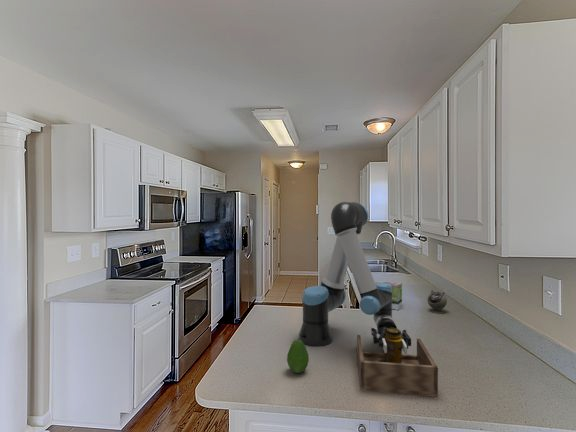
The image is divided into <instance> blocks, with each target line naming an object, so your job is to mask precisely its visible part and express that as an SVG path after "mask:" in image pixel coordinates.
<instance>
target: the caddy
mask: <svg viewBox="0 0 576 432" xmlns="http://www.w3.org/2000/svg"><path fill="white" fill-rule="evenodd" d="M356 342H357V344H356V349H357V350H356V356H357V357H356V359H357V368H358V369H357V370H358V376H359V377H358V378H359V385H360V386H359V387H360V391H369V392H383V393H393V394H394V393H395V394H404V395H405V394H406V395H417V396H430V397H438V393H439V392H438V390H439V385H438V383H439V372H438V371H439V367H438V366H437V364H436V363H435V361H434V359H433V358H432V356H431V354H430V353H429V351H428V350H427V347H426V346H425V344H424V343H423V341H422V339H421V338H416V354H404V353H402V362H404V363H406V364H402V363H388V362H375V361H378V360H381V359H384V352H374V351H372V352H370V351H363V345H362V343H363V342H362V337H361V335H360V334H357V335H356Z"/></svg>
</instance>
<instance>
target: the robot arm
mask: <svg viewBox="0 0 576 432" xmlns="http://www.w3.org/2000/svg"><path fill="white" fill-rule="evenodd" d="M330 220H331V225H332V228H333V232H334V235H335V237H336V240H335V242H334V247H333V250H332V255H331V258H330V261H329V264H328V269H327V272H326V277H324V278H322V279H321V283H320V285H313V286H309V287H306V288H305V289H304V290H303V291H302V325H301V328H300V331H299V333H298V339H299V340H301V341H302V342H303V343H304V345H305V346H313V347H322V346H326V345H329V344H331V343H332V342H333V335H332V334H333V333H332V331H331V327H330V323H329V313H330V312H331V311H333V310H336V309H338V308H339V307H341V306H342V305H343V304H344V302H345V300H346V291H345V289H346V284H345V283H344V281H345V277H346V274H347V269H348V266H349V268H350V271H351V273H352V276H353V279H354V282H355V284H356V288H357V291H358V292H359V296H360V301H359V308H360V310H361V311H362V313H364V314H366V315H369V316H372V315H373V320H374V322H375V326H376V328H377V329H376V328H374V327H371V329H370V331H371V332H370V334H371V336H372V341H373V344H374V345H377V344H378V347H380V348H382V349H383V353H387V344H386V342H385V336H386V329H387V328H396V329H398V326H397V325H396V323H395V320H394V319H393V309H392V286H391V285H390V284H387V283H377V284H375V282H376V281H375V279H374V277H373V273H372V271H371V270H370V267H369V264H368V260H367V259H366V255H365V253H364V251H363V248H362V247H363V246H362V244H361V242H360V239H359V237H358V236H359V235H361V232H362V229H363V227H364V226H365V224H367V222H368V220H369V212H368V209H367V207H365V205H363V204H362V203H359V202H355V201H352V202H351V201H341V202H338V203H337V204H335V206H334V207H333V208H332V209H331V213H330ZM400 331H401V338H402V351H403V354H405V355H408V349H409V347H411V346H412V338H411V337H410V335H409V334H408V332H407V329H402V330H400ZM377 334H378V335H379V336H378V335H377Z"/></svg>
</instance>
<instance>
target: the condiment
mask: <svg viewBox="0 0 576 432" xmlns="http://www.w3.org/2000/svg"><path fill="white" fill-rule="evenodd" d="M401 331H402V330H400V329H399V328H397V329H396V328H387V329H386V336H385V342H386V344H387V353H384V352H383V353H384V359H381V360H378V361H375V362H388V363H402V364H406V363H404V362H402V354H403V352H402V351H403V349H402V338H401V336H402V335H401Z"/></svg>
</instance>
